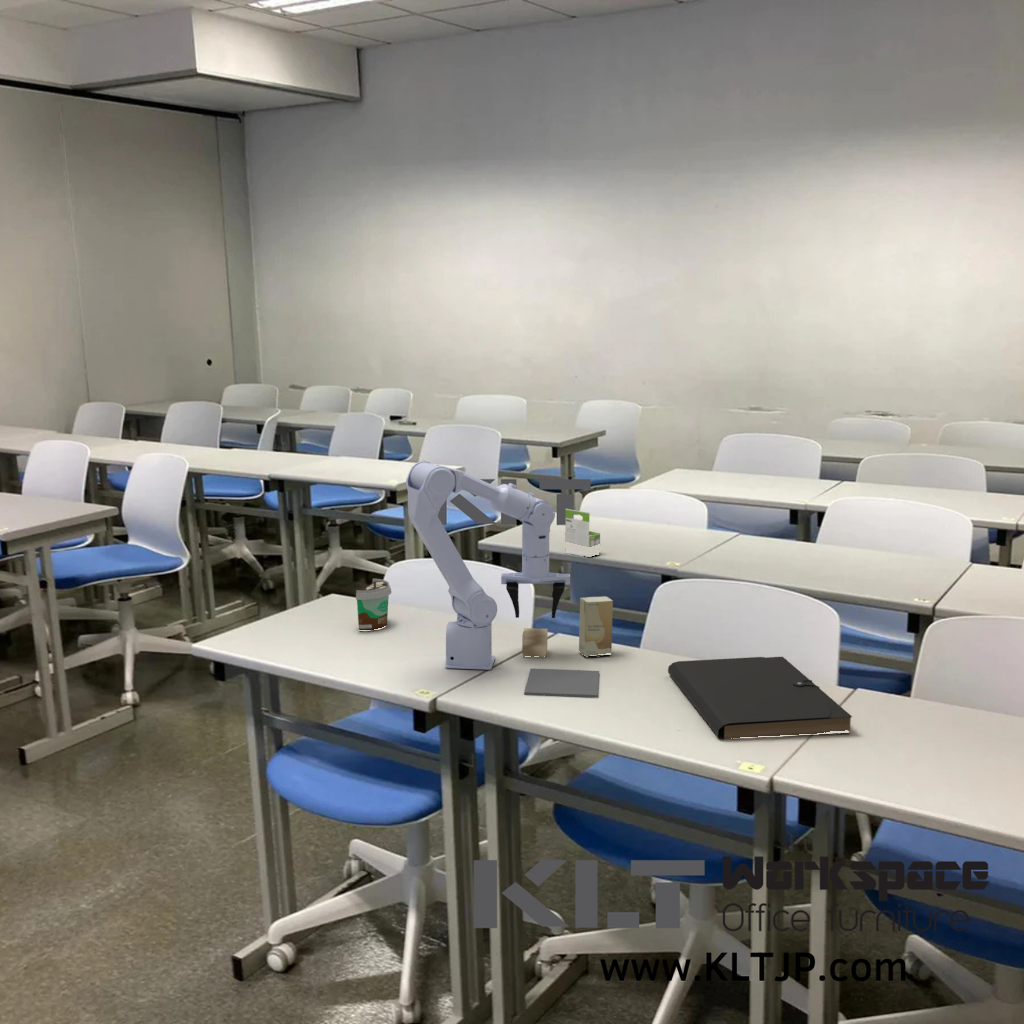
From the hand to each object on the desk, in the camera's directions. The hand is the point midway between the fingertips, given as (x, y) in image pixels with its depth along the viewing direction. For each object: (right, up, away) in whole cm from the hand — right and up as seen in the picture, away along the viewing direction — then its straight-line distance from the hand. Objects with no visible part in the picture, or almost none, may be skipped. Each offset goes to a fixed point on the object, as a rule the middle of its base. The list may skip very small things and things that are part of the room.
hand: (535, 616), depth 222 cm
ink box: (+17, +9, +97) cm, 98 cm away
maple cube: (0, -8, +2) cm, 8 cm away
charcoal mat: (+5, -12, -17) cm, 21 cm away
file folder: (+40, -14, -26) cm, 50 cm away
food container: (-36, -5, +21) cm, 42 cm away
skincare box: (+13, -8, +1) cm, 16 cm away
